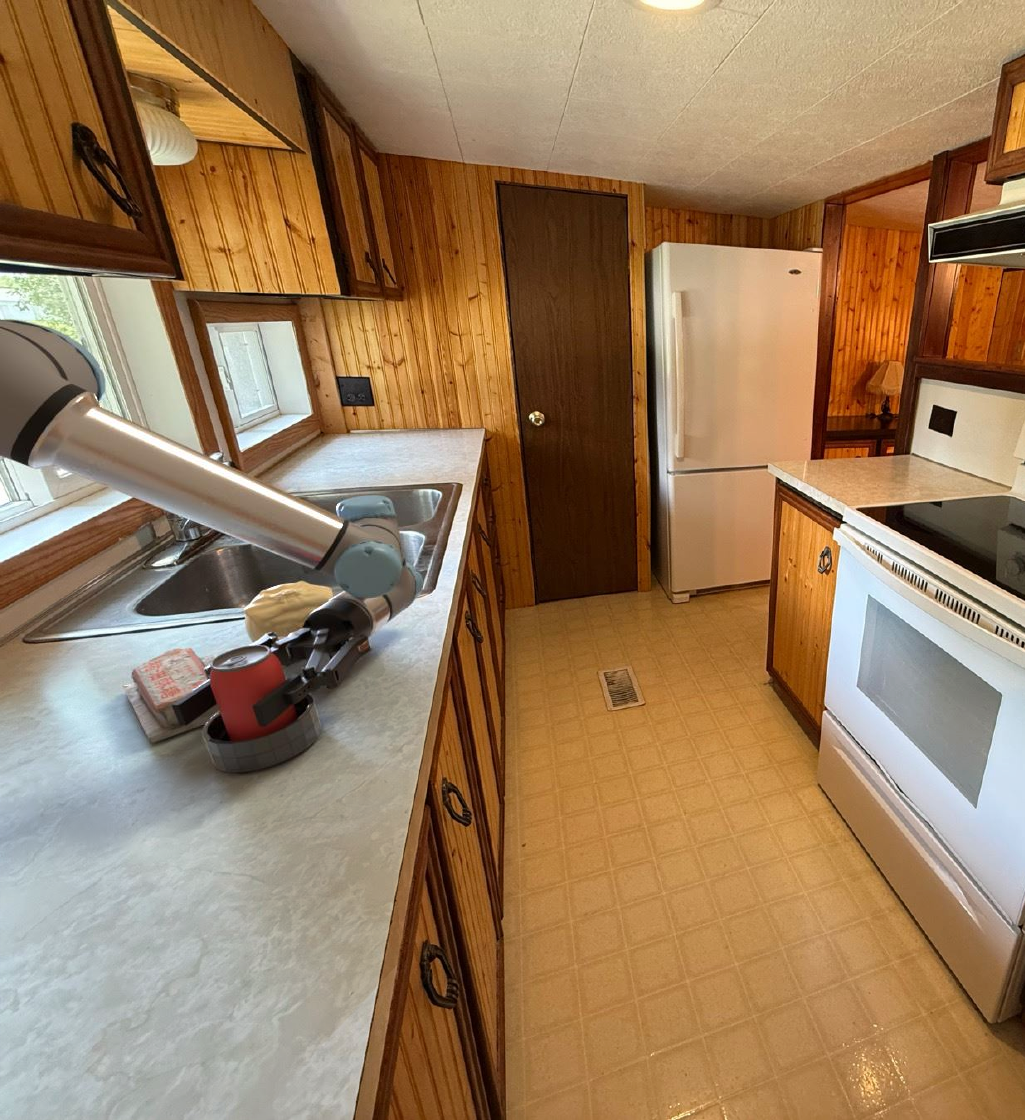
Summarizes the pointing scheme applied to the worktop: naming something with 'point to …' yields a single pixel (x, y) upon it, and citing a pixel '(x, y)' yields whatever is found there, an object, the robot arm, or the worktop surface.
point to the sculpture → (283, 609)
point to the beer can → (247, 689)
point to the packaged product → (167, 691)
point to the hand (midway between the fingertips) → (219, 715)
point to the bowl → (262, 741)
